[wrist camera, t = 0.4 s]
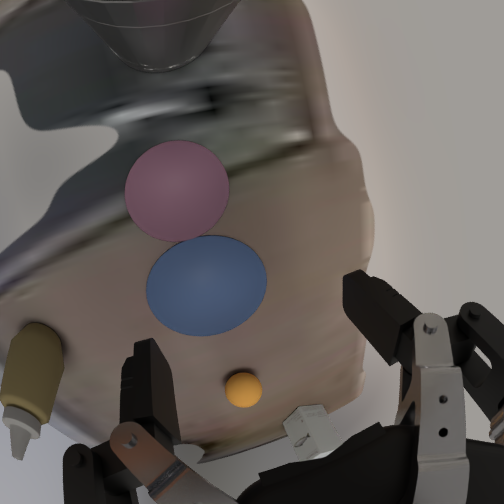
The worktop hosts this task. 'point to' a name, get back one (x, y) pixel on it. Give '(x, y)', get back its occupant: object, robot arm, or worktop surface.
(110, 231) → the worktop surface
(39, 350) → the squeeze bottle
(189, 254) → the disc
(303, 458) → the supplement box
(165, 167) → the disc
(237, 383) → the ball
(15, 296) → the worktop surface
